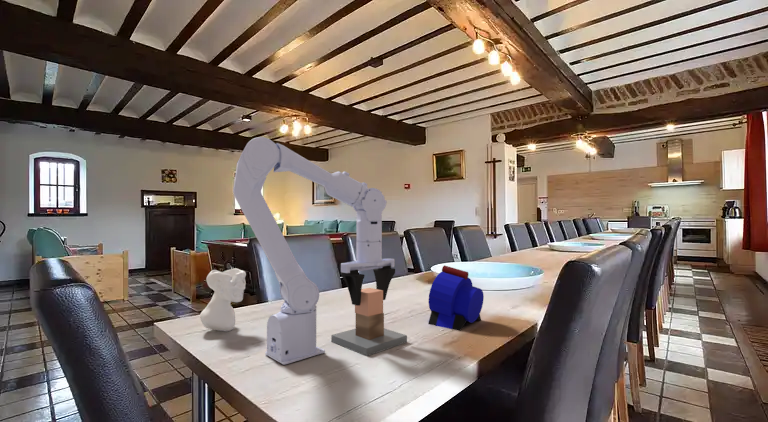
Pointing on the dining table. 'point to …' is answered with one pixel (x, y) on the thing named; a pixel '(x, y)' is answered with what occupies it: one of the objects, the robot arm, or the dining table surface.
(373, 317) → the walnut block
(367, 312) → the terracotta block
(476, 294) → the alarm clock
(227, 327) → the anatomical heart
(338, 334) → the base plate
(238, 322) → the dining table surface
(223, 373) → the dining table surface
